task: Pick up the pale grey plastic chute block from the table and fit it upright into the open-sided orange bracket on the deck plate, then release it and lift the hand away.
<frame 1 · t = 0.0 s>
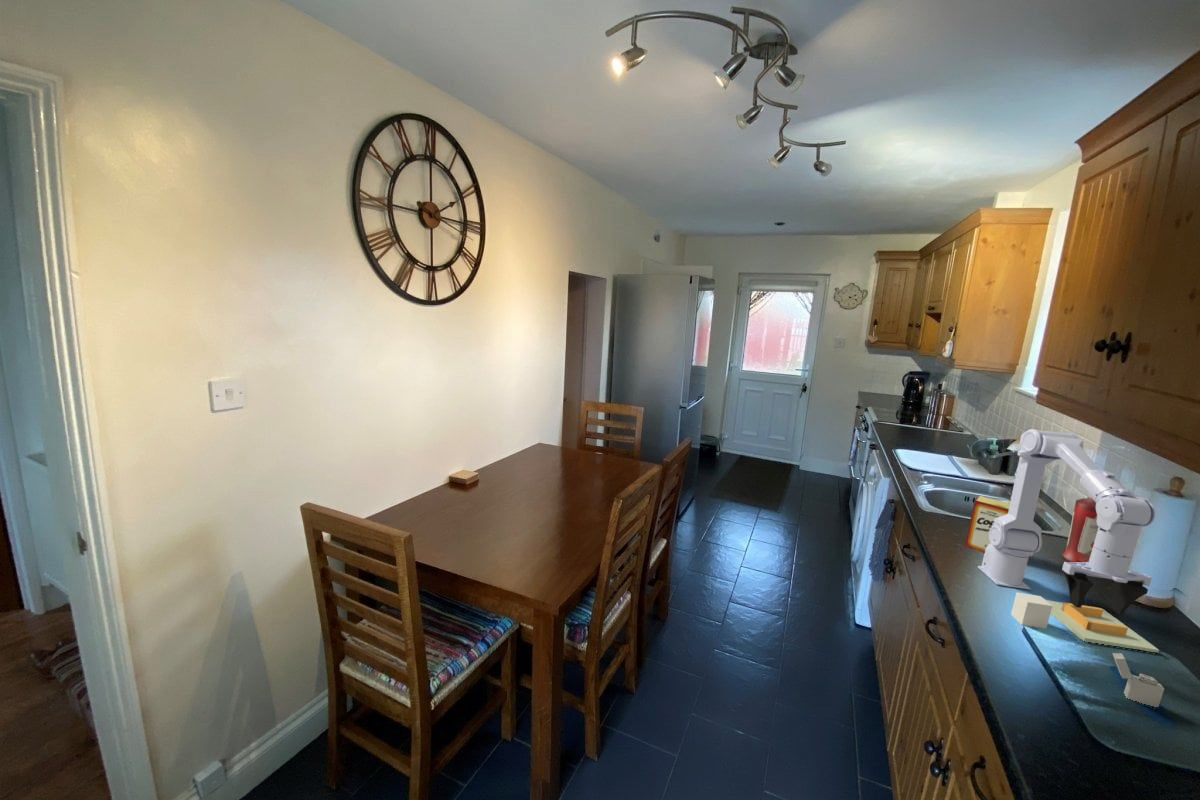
hand: (1095, 608, 102), 10 cm above the table, tool pointing down, fingers open, 7 cm apart
lighter: (1128, 697, 91), on the table
liquor: (1076, 563, 143), on the table
chute block: (1028, 621, 113), on the table
baking soda box: (984, 549, 149), on the table
deck: (1093, 626, 112), on the table
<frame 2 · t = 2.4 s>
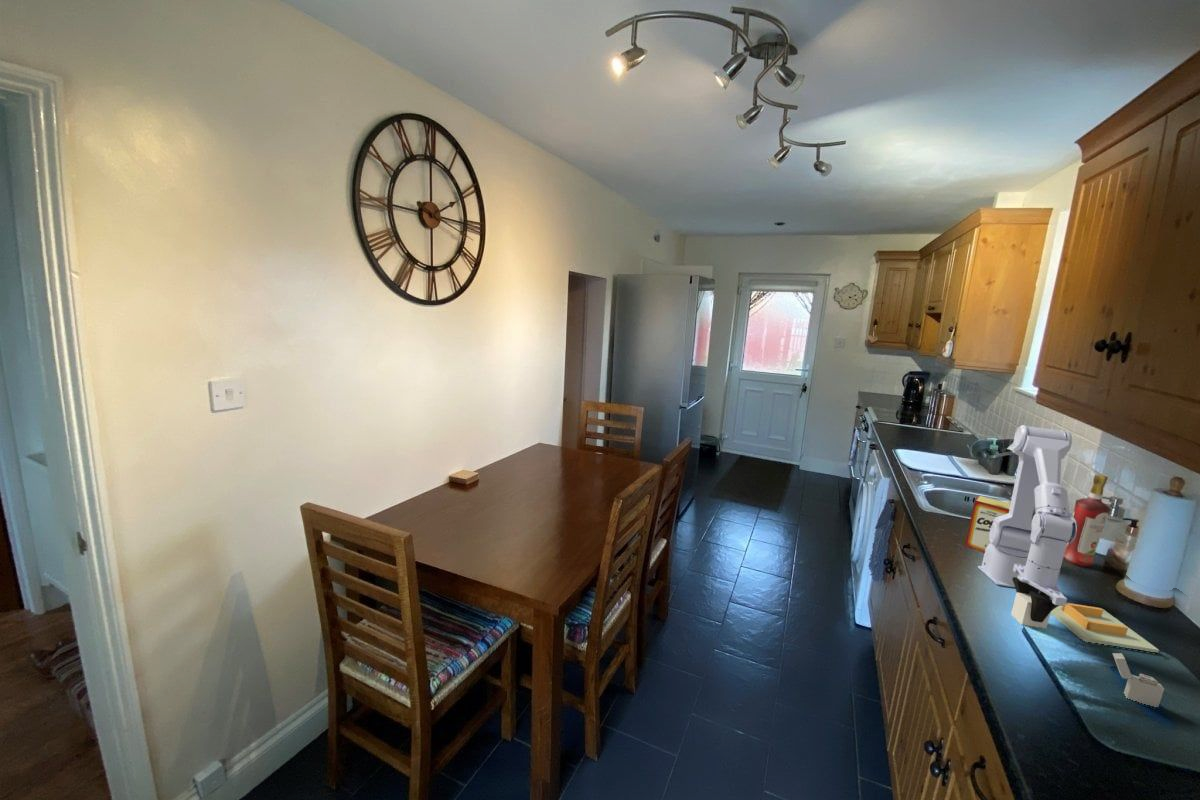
hand: (1029, 614, 112), 2 cm above the table, tool pointing down, fingers closed on chute block, 4 cm apart
chute block: (1028, 621, 113), on the table, touching gripper
everything else where it was.
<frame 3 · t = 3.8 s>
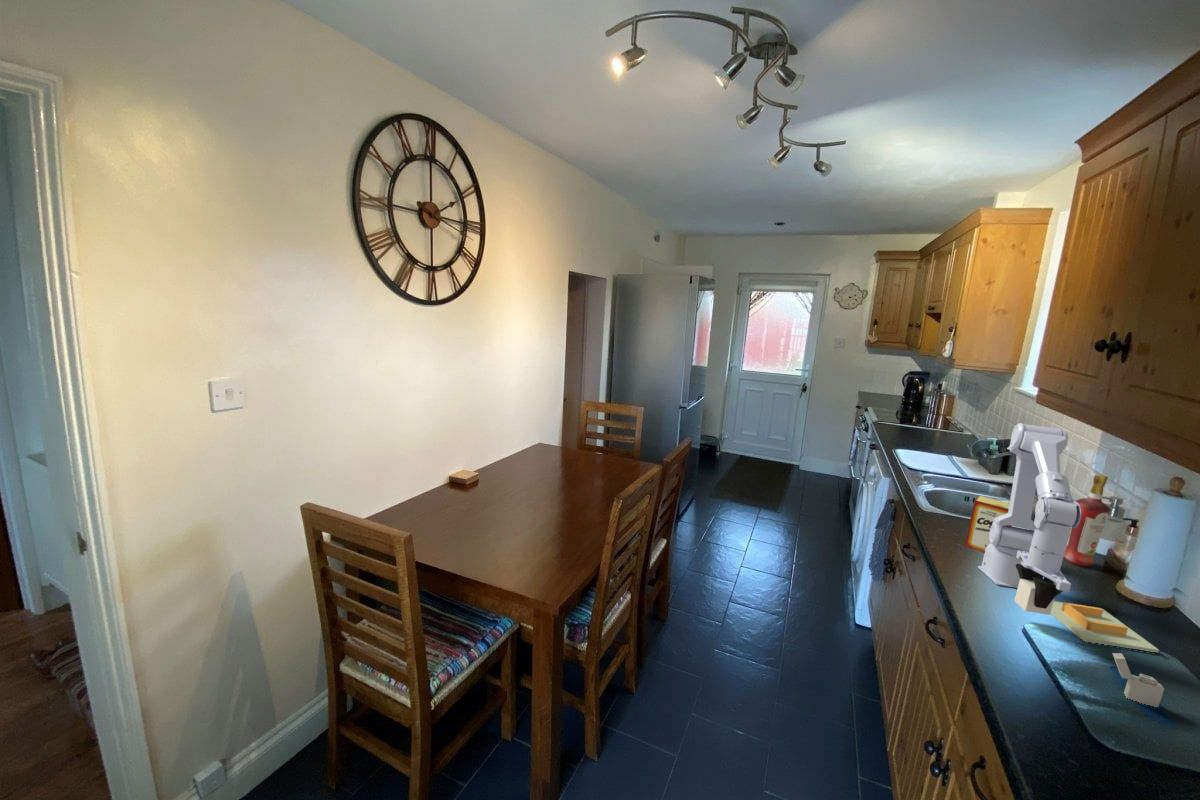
hand: (1033, 601, 112), 5 cm above the table, tool pointing down, fingers closed on chute block, 4 cm apart
chute block: (1031, 607, 112), point 4 cm above the table, touching gripper
everything else where it was.
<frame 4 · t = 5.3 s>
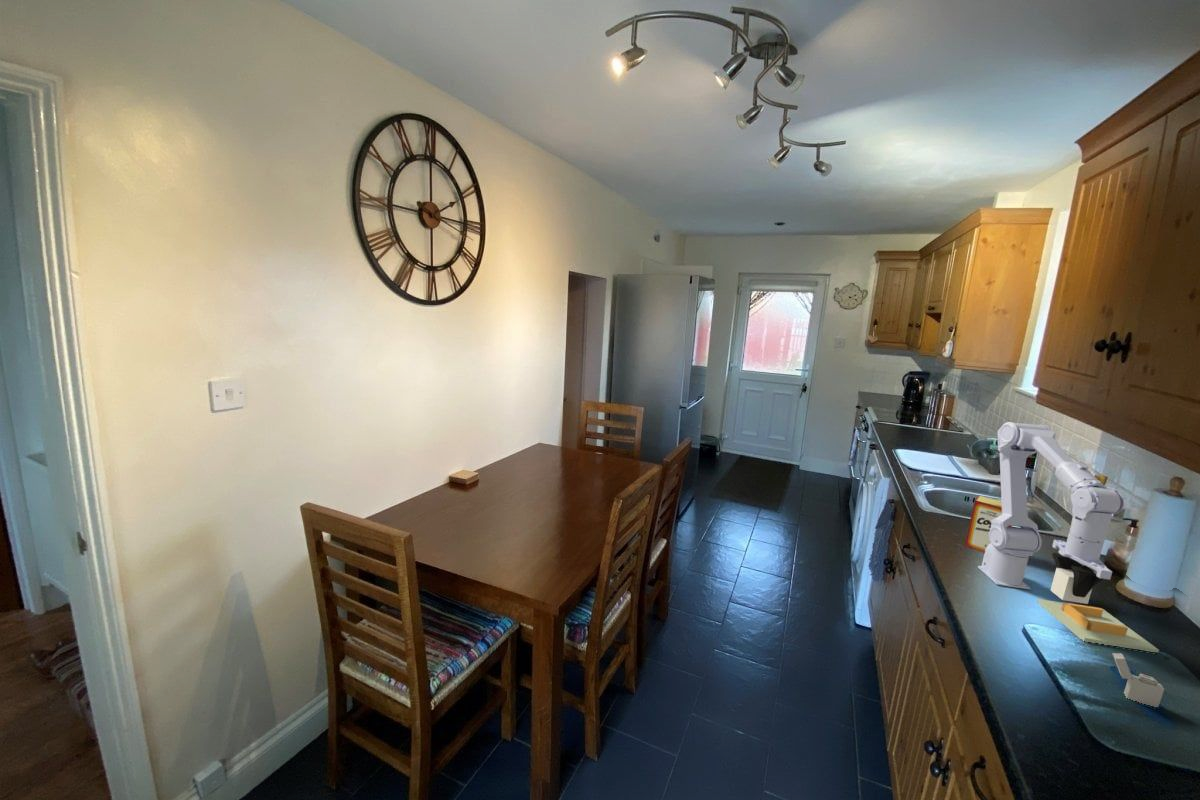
hand: (1071, 590, 111), 9 cm above the table, tool pointing down, fingers closed on chute block, 4 cm apart
chute block: (1068, 597, 111), point 7 cm above the table, touching gripper
everything else where it was.
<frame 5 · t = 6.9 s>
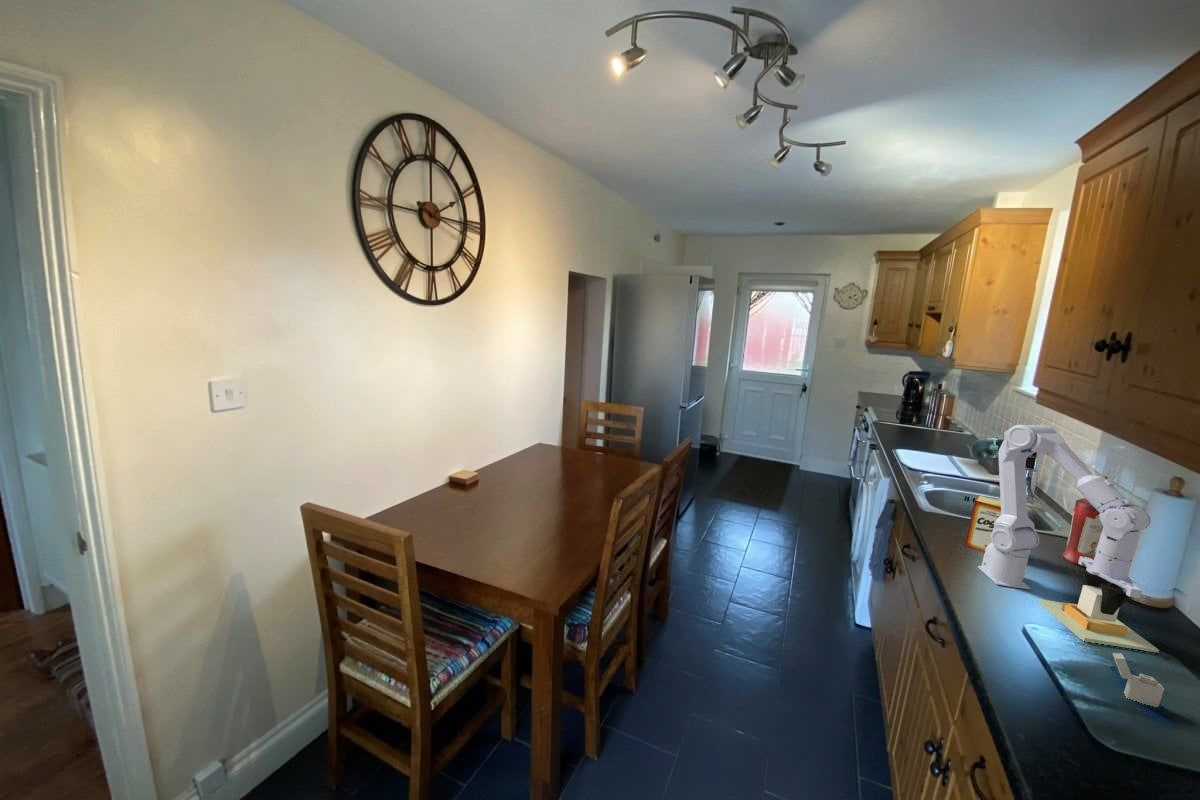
hand: (1098, 607, 111), 5 cm above the table, tool pointing down, fingers closed on chute block, 4 cm apart
chute block: (1095, 614, 112), point 3 cm above the table, touching gripper
everything else where it was.
when the fingers open (4 cm above the table, at t = 8.0 s): chute block drops 1 cm, resting on deck.
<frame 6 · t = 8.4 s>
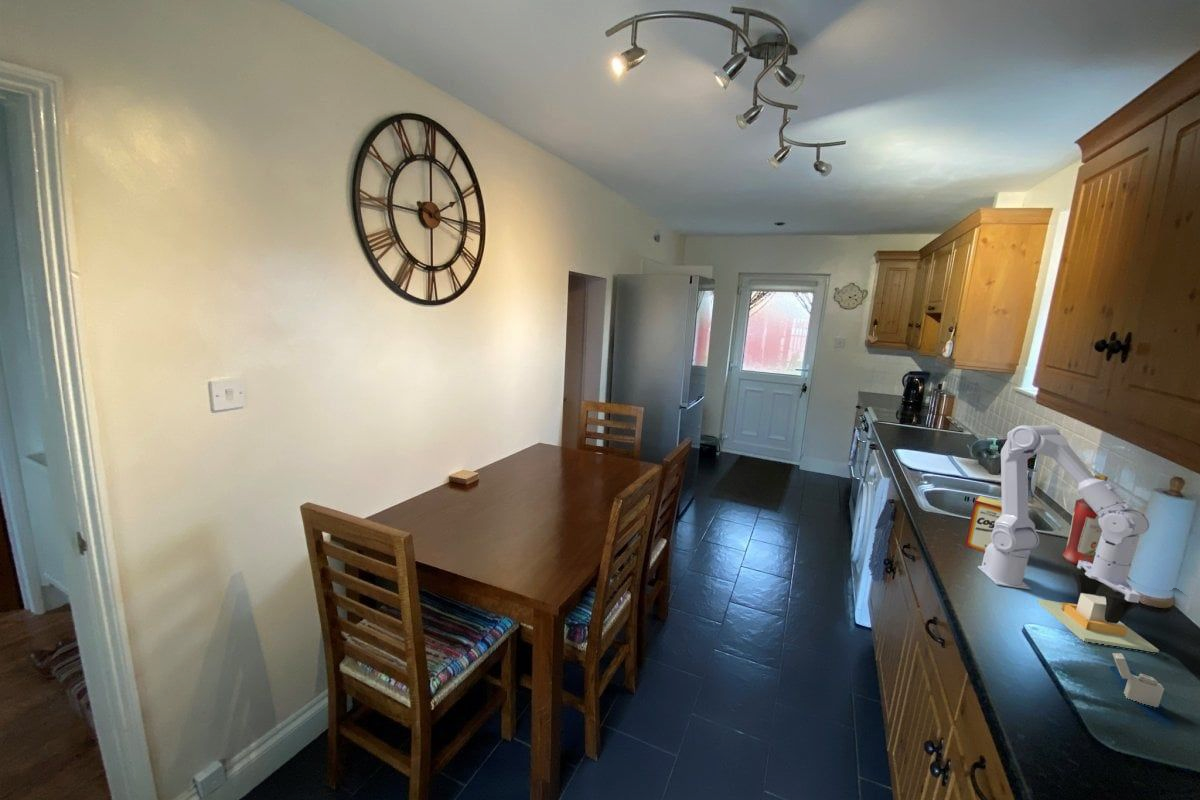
hand: (1097, 611, 111), 4 cm above the table, tool pointing down, fingers open, 7 cm apart
chute block: (1093, 622, 112), point 1 cm above the table, touching deck
everything else where it was.
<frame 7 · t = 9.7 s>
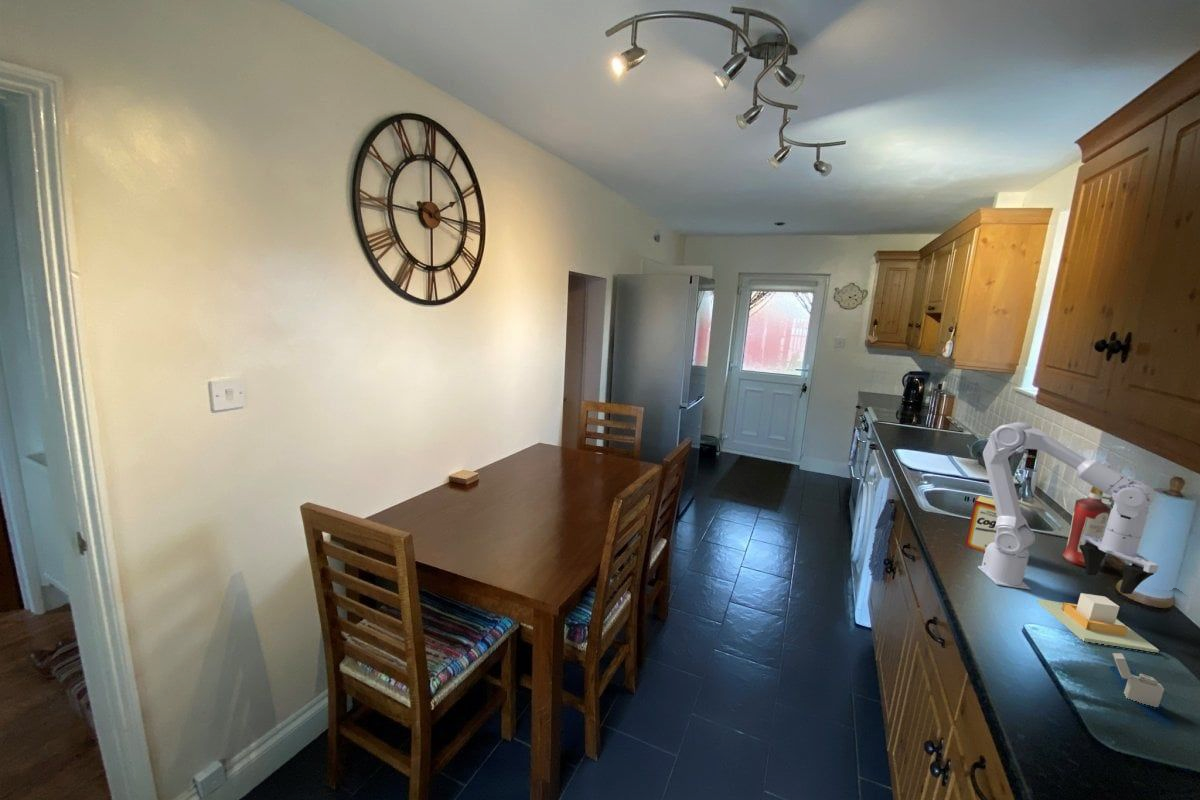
hand: (1107, 583, 114), 9 cm above the table, tool pointing down, fingers open, 7 cm apart
nothing on the table moved.
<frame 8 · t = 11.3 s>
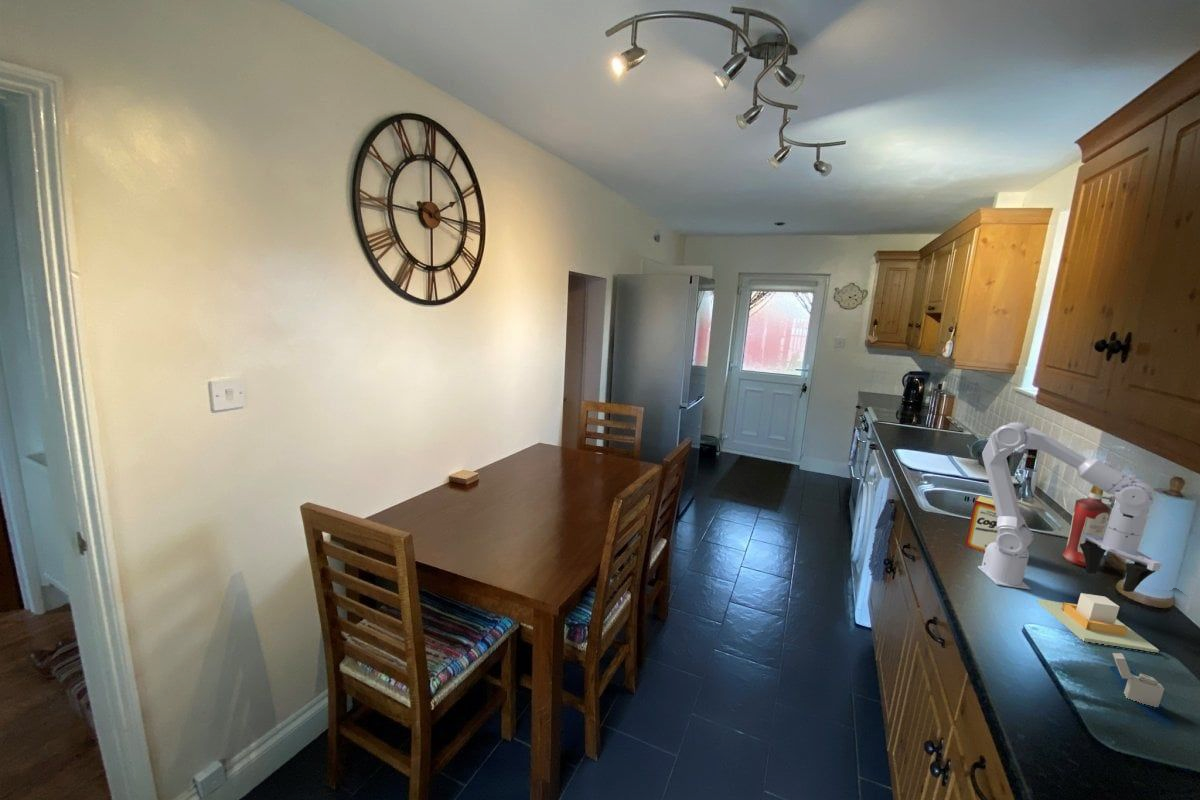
hand: (1109, 581, 115), 9 cm above the table, tool pointing down, fingers open, 7 cm apart
nothing on the table moved.
at the end: chute block 0.7 cm off-centre on the deck, point 1.0 cm above the deck's base; chute block tilted 0°; the gripper is holding nothing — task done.
